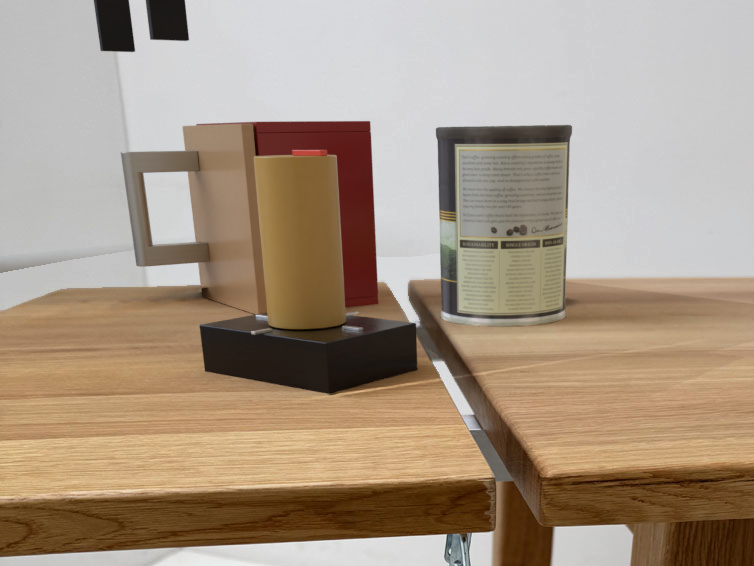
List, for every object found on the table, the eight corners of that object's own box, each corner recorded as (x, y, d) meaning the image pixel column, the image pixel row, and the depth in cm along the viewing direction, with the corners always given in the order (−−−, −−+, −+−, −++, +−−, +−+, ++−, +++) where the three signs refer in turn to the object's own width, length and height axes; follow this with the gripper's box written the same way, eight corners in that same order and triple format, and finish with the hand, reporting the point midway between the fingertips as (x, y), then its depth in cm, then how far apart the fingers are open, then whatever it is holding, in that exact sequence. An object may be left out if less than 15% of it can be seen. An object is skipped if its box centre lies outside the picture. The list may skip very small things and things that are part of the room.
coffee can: (413, 317, 83) (407, 126, 77) (503, 303, 90) (504, 125, 84) (502, 333, 77) (503, 124, 71) (592, 316, 83) (600, 124, 77)
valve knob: (252, 324, 63) (235, 150, 59) (307, 314, 67) (295, 149, 62) (307, 332, 60) (293, 150, 56) (362, 321, 64) (353, 149, 60)
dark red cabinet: (273, 316, 85) (256, 121, 79) (214, 297, 95) (195, 124, 89) (378, 305, 90) (370, 120, 84) (312, 288, 100) (300, 123, 94)
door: (184, 323, 81) (160, 124, 75) (134, 303, 92) (108, 126, 86) (270, 314, 85) (253, 123, 79) (211, 295, 95) (193, 125, 89)
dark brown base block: (198, 374, 65) (192, 323, 63) (300, 351, 71) (296, 304, 70) (323, 397, 59) (319, 341, 57) (422, 370, 65) (421, 319, 64)
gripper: (213, -350, 64) (246, 36, 74) (105, -239, 83) (141, 56, 93) (93, -377, 61) (142, 32, 70) (8, -256, 80) (56, 54, 89)
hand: (142, 46), depth 81 cm, fingers open, 13 cm apart
